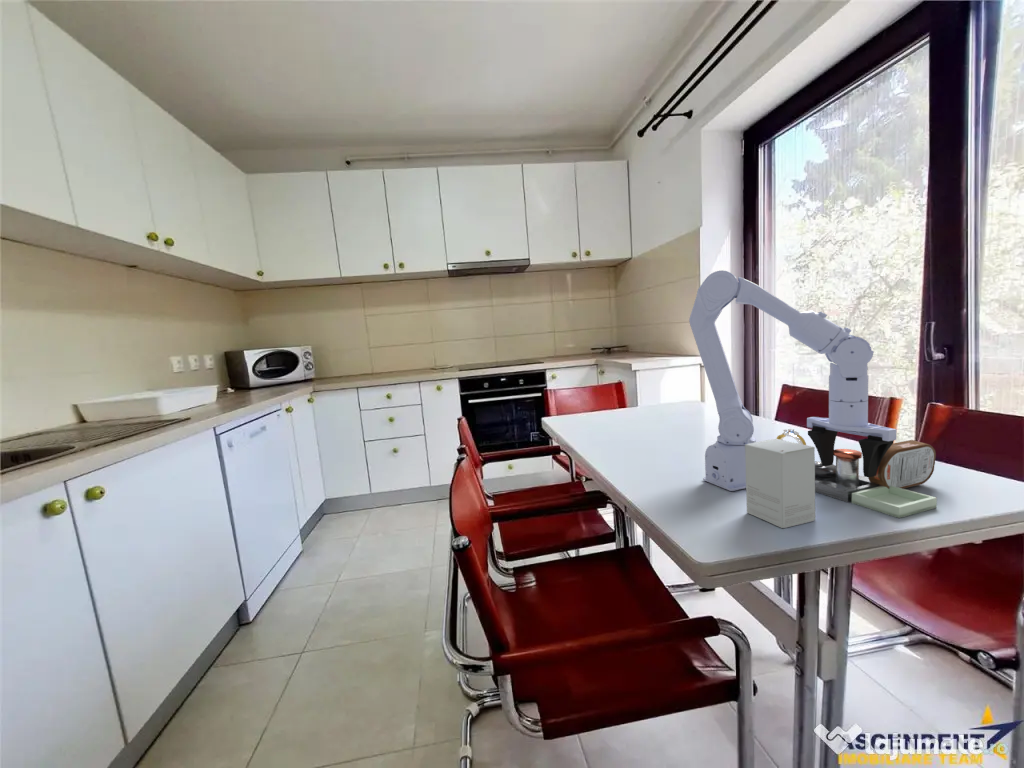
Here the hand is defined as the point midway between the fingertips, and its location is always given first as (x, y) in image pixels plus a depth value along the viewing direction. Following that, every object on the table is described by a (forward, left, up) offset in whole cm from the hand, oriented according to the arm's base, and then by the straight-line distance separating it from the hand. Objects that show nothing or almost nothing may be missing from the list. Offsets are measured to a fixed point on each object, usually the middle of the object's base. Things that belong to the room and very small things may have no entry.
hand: (847, 470), depth 79 cm
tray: (0, -7, -4) cm, 9 cm away
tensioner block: (0, +3, -4) cm, 5 cm away
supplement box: (-20, -3, -4) cm, 21 cm away
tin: (+9, -3, -4) cm, 11 cm away
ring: (+7, +17, -4) cm, 19 cm away
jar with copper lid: (0, 0, -4) cm, 4 cm away
